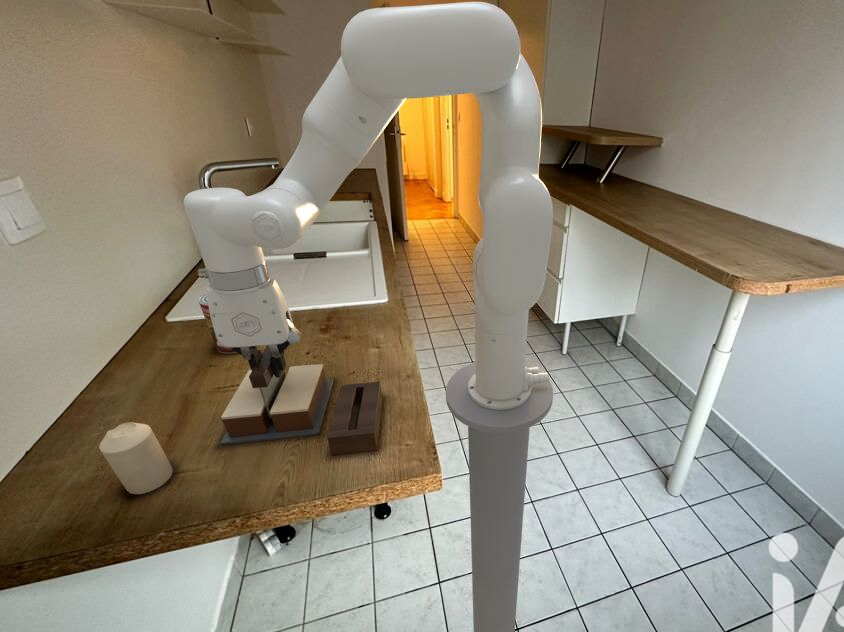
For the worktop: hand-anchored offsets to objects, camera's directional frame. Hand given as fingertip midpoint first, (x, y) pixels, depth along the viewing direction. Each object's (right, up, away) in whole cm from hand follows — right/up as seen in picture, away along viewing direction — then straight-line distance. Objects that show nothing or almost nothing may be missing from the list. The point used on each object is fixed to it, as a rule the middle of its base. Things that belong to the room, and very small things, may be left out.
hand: (270, 372), depth 71 cm
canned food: (-21, +4, +22) cm, 31 cm away
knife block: (+15, -9, +2) cm, 17 cm away
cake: (0, -7, +4) cm, 8 cm away
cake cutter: (0, -5, +3) cm, 6 cm away
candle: (-12, -15, -10) cm, 22 cm away
